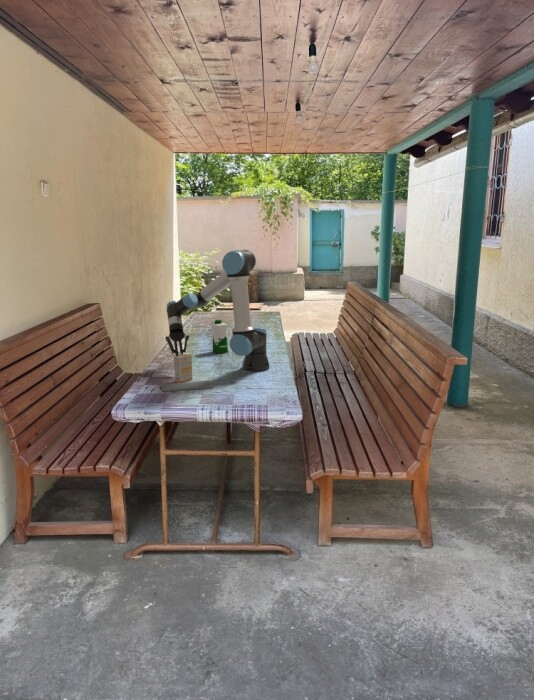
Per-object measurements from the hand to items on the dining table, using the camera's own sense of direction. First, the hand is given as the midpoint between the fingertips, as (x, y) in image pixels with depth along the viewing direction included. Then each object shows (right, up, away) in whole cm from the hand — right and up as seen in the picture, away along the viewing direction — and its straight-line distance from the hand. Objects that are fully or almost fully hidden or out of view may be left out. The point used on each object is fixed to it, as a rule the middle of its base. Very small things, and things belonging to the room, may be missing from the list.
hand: (180, 363), depth 276 cm
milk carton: (+16, +5, +57) cm, 59 cm away
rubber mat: (+6, -11, -19) cm, 23 cm away
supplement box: (+3, -9, -8) cm, 12 cm away
